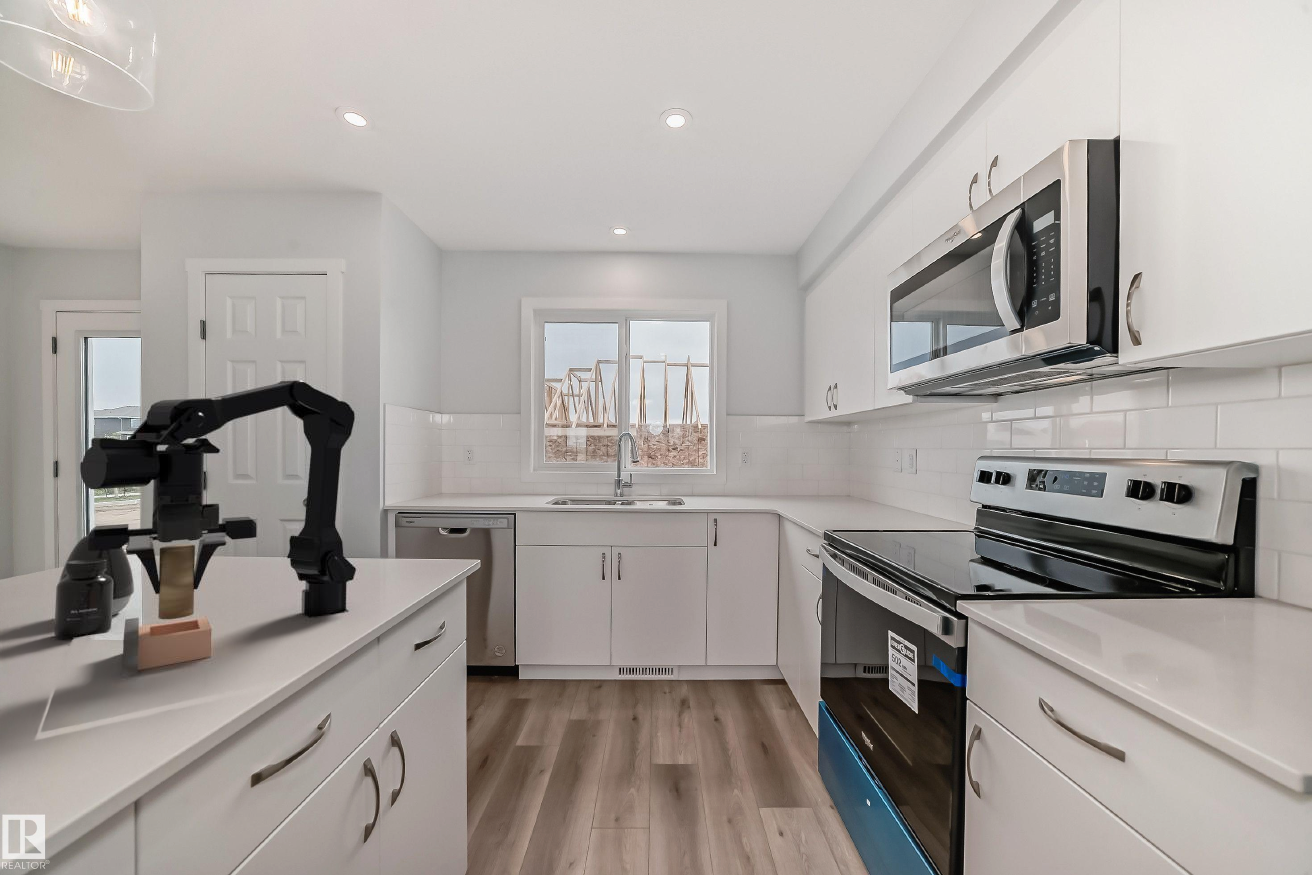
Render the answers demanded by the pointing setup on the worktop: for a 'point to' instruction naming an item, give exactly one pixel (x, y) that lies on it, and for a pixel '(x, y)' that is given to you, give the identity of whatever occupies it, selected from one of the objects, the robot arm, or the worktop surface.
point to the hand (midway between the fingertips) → (176, 591)
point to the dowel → (176, 581)
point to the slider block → (173, 642)
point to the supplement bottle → (84, 600)
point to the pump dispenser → (108, 571)
